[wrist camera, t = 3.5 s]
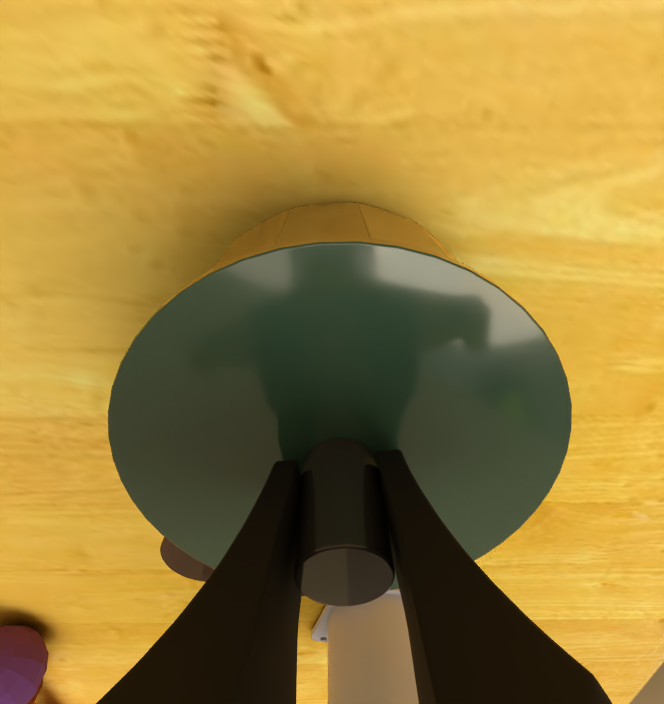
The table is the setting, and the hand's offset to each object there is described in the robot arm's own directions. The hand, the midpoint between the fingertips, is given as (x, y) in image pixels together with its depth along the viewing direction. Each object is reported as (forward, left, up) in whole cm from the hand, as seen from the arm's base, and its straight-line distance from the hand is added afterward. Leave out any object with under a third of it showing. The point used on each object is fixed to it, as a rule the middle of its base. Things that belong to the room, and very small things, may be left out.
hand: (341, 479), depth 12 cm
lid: (0, 0, -1) cm, 1 cm away
